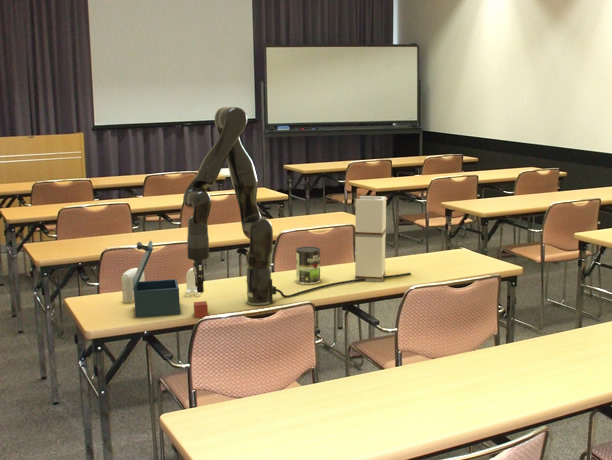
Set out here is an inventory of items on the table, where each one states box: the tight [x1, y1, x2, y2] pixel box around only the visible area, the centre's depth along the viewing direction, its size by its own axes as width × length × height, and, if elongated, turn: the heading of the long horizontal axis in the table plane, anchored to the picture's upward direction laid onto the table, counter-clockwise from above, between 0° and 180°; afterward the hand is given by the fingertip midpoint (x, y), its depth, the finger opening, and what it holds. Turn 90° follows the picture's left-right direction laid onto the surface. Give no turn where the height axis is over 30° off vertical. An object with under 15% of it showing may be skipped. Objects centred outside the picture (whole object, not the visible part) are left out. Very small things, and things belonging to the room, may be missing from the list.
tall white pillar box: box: [354, 195, 387, 283], centre depth 323 cm, size 11×11×35 cm
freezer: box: [134, 278, 181, 319], centre depth 278 cm, size 16×14×10 cm
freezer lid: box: [133, 240, 154, 291], centre depth 274 cm, size 16×14×5 cm
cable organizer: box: [185, 267, 202, 298], centre depth 301 cm, size 5×10×10 cm, turn 4°
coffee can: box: [295, 246, 321, 285], centre depth 319 cm, size 10×10×14 cm
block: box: [193, 300, 209, 318], centre depth 274 cm, size 4×4×4 cm
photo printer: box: [120, 267, 146, 304], centre depth 292 cm, size 10×4×12 cm, turn 158°
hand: (199, 289), depth 272 cm, fingers open, 8 cm apart
